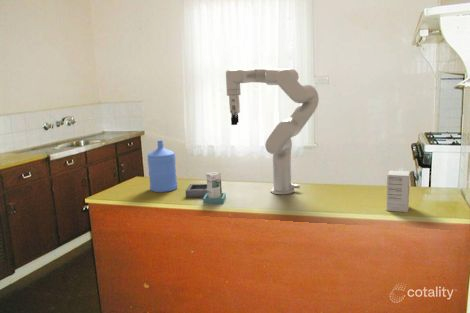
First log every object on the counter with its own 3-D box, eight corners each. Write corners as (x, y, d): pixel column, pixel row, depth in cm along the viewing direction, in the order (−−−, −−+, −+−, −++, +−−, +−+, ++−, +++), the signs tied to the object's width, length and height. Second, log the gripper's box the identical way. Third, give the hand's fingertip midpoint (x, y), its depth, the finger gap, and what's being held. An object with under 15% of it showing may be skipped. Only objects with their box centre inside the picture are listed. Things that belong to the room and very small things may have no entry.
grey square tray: (212, 190, 241) (212, 183, 241) (209, 197, 229) (208, 190, 228) (190, 191, 243) (190, 184, 242) (186, 197, 230) (185, 190, 230)
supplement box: (408, 212, 192) (409, 176, 189) (386, 210, 196) (387, 174, 192) (408, 206, 201) (410, 170, 197) (387, 204, 204) (388, 169, 201)
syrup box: (212, 202, 220) (210, 175, 217) (207, 199, 225) (206, 172, 222) (222, 200, 222) (221, 173, 219) (217, 198, 227) (216, 171, 224)
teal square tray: (225, 197, 228) (225, 192, 227) (223, 203, 218) (223, 198, 217) (206, 197, 229) (206, 193, 228) (203, 203, 219) (203, 198, 218)
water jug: (168, 193, 240) (164, 143, 234) (144, 191, 246) (140, 143, 240) (182, 186, 254) (179, 139, 248) (159, 184, 260) (155, 138, 254)
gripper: (239, 93, 228) (240, 125, 231) (241, 91, 245) (242, 121, 248) (225, 93, 228) (226, 126, 232) (228, 92, 245) (229, 122, 249)
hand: (235, 123), depth 240 cm, fingers open, 9 cm apart
